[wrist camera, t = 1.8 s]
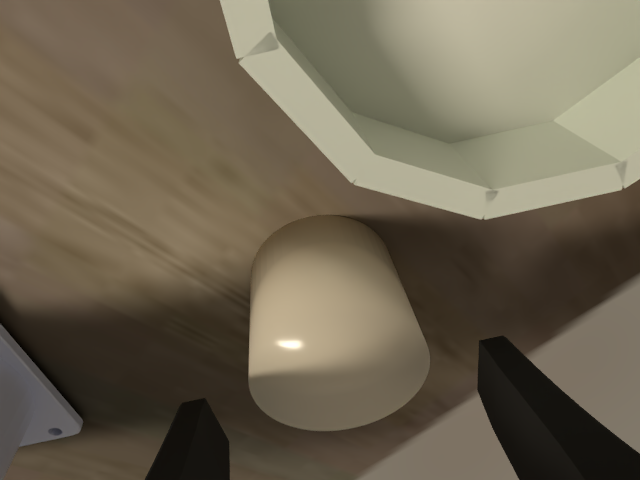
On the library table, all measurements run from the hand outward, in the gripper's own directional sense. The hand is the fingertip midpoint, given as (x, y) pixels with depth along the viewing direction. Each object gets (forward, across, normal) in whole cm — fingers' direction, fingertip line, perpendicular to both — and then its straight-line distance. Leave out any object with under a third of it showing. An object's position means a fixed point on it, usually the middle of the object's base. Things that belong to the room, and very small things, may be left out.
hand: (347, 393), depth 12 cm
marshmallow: (+5, 0, 0) cm, 5 cm away
